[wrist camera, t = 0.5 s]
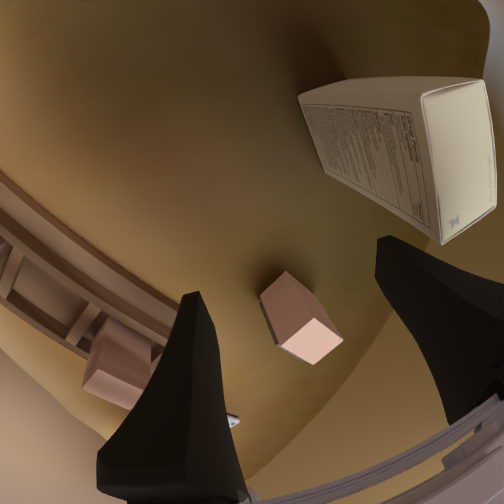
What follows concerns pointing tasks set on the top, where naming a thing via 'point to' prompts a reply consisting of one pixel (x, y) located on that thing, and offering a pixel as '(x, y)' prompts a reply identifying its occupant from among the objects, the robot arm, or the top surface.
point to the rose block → (298, 320)
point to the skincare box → (410, 146)
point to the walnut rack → (81, 299)
